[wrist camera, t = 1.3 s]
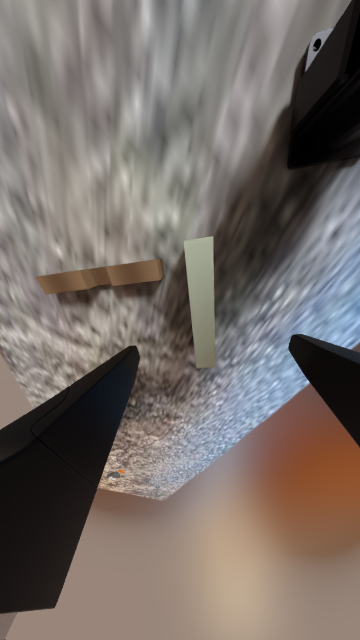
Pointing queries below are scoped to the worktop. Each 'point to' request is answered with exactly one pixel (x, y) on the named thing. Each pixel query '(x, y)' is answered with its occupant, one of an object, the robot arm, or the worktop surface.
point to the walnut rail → (102, 276)
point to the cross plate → (201, 298)
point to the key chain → (115, 474)
